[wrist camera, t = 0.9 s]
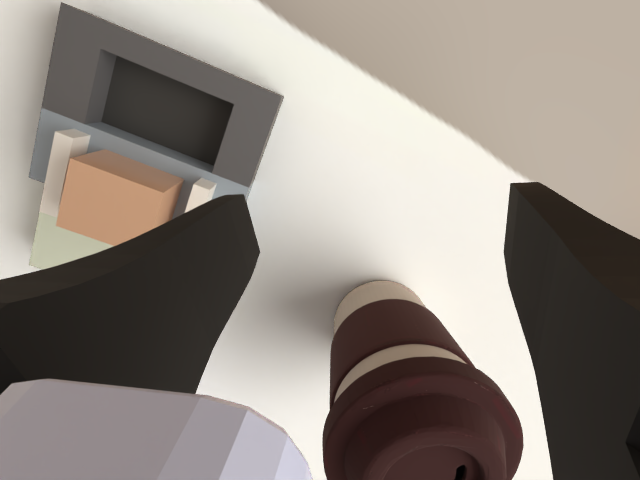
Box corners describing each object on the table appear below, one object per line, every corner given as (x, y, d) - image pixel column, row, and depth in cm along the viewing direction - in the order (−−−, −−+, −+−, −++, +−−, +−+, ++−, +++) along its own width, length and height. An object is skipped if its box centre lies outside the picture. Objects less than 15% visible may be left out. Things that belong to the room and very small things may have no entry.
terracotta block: (167, 234, 27) (144, 256, 24) (91, 207, 27) (55, 225, 23) (184, 179, 26) (163, 192, 22) (105, 149, 25) (69, 158, 22)
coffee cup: (290, 320, 33) (279, 492, 18) (383, 236, 31) (450, 356, 16) (374, 391, 35) (420, 590, 21) (465, 318, 33) (584, 484, 19)
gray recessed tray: (233, 236, 30) (227, 248, 28) (52, 170, 28) (28, 177, 26) (284, 96, 27) (281, 96, 25) (84, 11, 25) (61, 2, 23)
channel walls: (194, 251, 28) (186, 262, 26) (58, 203, 26) (39, 211, 25) (216, 183, 26) (209, 190, 24) (73, 128, 25) (55, 131, 23)
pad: (196, 300, 32) (187, 317, 29) (50, 251, 30) (28, 264, 28) (220, 232, 30) (213, 243, 28) (66, 176, 28) (45, 183, 26)
